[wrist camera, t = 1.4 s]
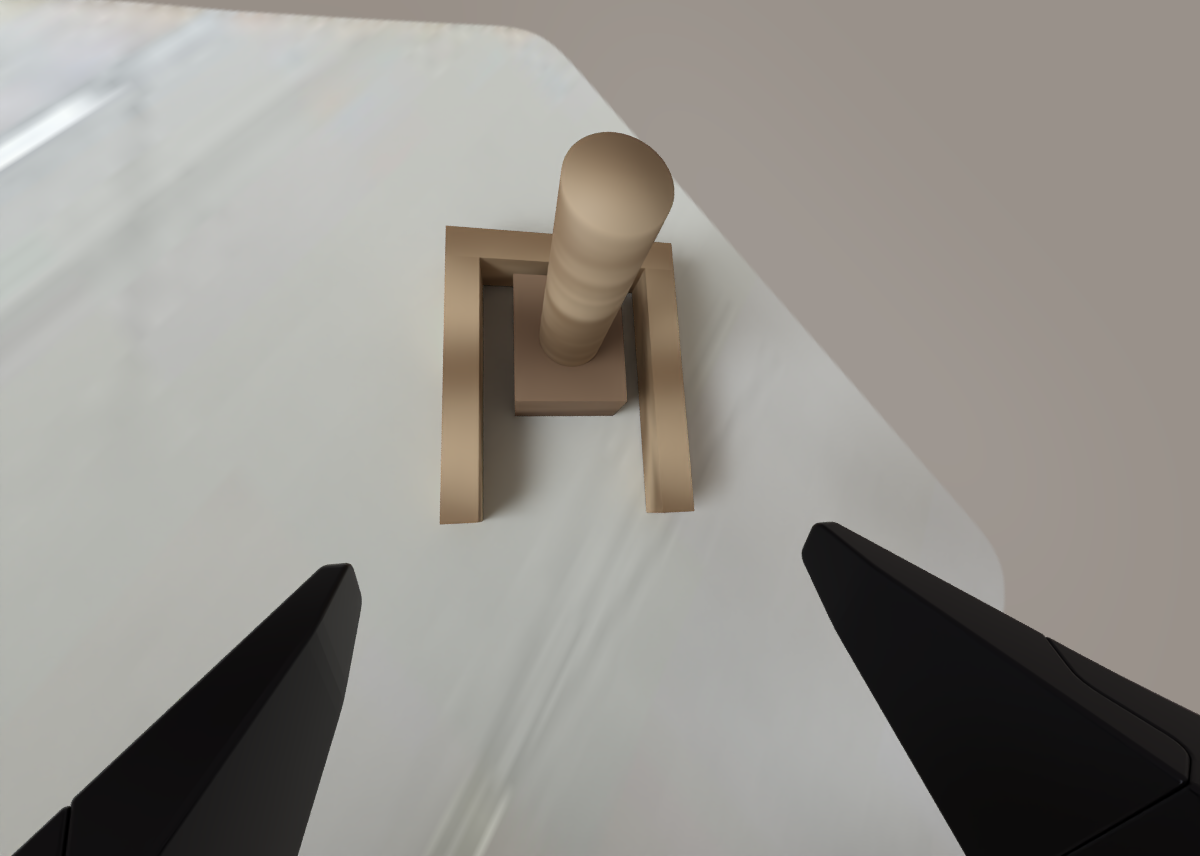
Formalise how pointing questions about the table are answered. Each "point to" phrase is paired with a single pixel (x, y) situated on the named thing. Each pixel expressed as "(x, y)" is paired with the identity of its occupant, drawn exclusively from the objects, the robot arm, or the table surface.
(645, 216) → the dowel block
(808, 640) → the table surface
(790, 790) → the table surface
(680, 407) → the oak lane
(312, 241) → the table surface
